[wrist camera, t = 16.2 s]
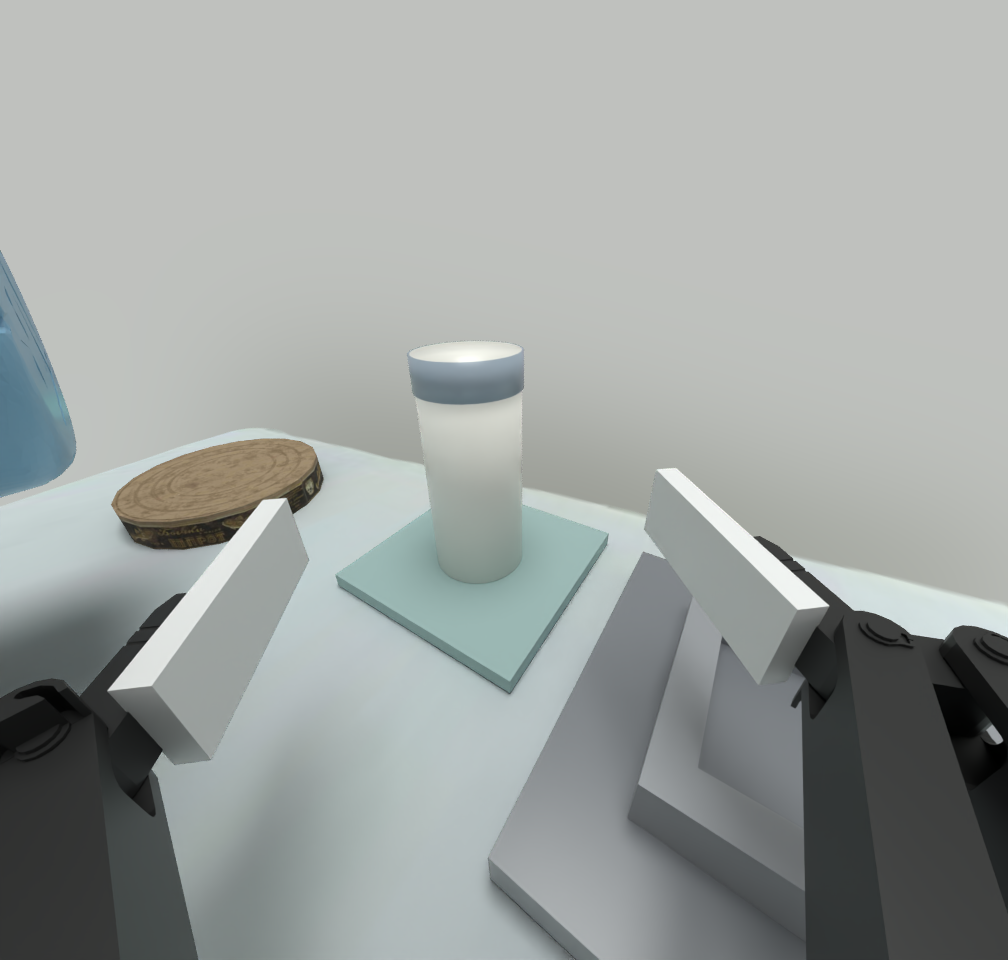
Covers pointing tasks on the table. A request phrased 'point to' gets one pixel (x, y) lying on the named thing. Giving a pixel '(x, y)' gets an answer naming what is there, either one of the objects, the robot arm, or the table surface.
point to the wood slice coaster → (215, 491)
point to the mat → (479, 592)
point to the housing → (665, 797)
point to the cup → (472, 453)
